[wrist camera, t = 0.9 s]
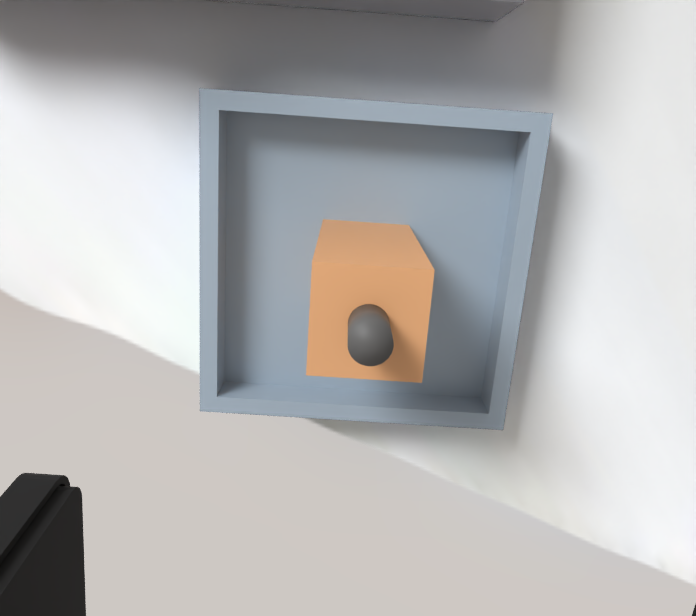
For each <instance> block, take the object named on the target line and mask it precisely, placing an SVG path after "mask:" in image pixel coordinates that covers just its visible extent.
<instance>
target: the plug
mask: <svg viewBox="0 0 696 616" xmlns="http://www.w3.org/2000/svg"><path fill="white" fill-rule="evenodd" d="M434 272H435V270H434V268H433V266H432V264H431V263H430V261H429V259H428V257H427V256H426V254H425V252H424V250H423V249H422V247H421V245H420V243H419V242H418V240H417V238H416V236H415V235H414V233H413V231H412V229H411V228H410V226H409V225H401V224H387V223H372V222H357V221H343V220H328V219H323V221H322V225H321V229H320V233H319V237H318V240H317V244H316V248H315V252H314V256H313V260H312V270H311V289H310V308H309V327H308V346H307V365H306V375H307V376H322V377H338V378H354V379H369V380H385V381H401V382H416V383H422V379H423V370H424V361H425V352H426V343H427V334H428V325H429V316H430V307H431V298H432V290H433V281H434Z"/></svg>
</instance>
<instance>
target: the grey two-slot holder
mask: <svg viewBox="0 0 696 616" xmlns="http://www.w3.org/2000/svg"><path fill="white" fill-rule="evenodd" d="M212 1H226V2H239V3H253V4H266V5H279V6H293V7H306V8H320V9H333V10H346V11H360V12H373V13H386V14H400V15H413V16H427V17H440V18H453V19H467V20H480V21H494V22H496V21H498V20H499V19H500V18H502V17H503V16H505V15H506V14H508V13H509V12H511V11H512V10H514V9H515V8H517V7H518V6H520V5H521V4H523V3H524V0H212Z"/></svg>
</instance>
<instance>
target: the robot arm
mask: <svg viewBox="0 0 696 616" xmlns="http://www.w3.org/2000/svg"><path fill="white" fill-rule="evenodd" d="M82 516H83V514H82V493H81V490H80V488H78V487H70V483H69V480H68V478H67V477H66V476H64V475H48V474H34V473H24V474H21V475H20V476H18V477H17V478H16V480H15V481H14V482H13V483H12V484H11V485H10V486H9V488H8V489H7V490H6V491H5V492H4V493H3V495H2V496H1V497H0V616H86V608H85V578H84V577H85V575H84V544H83V517H82ZM692 616H696V605H695V608H694V611H693V614H692Z"/></svg>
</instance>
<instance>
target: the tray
mask: <svg viewBox="0 0 696 616" xmlns="http://www.w3.org/2000/svg"><path fill="white" fill-rule="evenodd" d="M552 117H553V114H552V113H538V112H525V111H511V110H497V109H483V108H469V107H455V106H441V105H427V104H414V103H400V102H386V101H372V100H358V99H344V98H330V97H316V96H302V95H289V94H275V93H261V92H247V91H233V90H219V89H205V88H199V148H200V411H206V412H222V413H238V414H255V415H271V416H286V417H302V418H318V419H334V420H350V421H366V422H382V423H398V424H414V425H430V426H446V427H462V428H478V429H494V430H503V428H504V422H505V415H506V409H507V402H508V396H509V390H510V383H511V377H512V371H513V364H514V358H515V352H516V345H517V339H518V333H519V326H520V320H521V314H522V307H523V301H524V295H525V288H526V282H527V275H528V269H529V263H530V256H531V250H532V244H533V237H534V231H535V225H536V218H537V212H538V206H539V199H540V193H541V187H542V180H543V174H544V167H545V161H546V155H547V148H548V142H549V136H550V129H551V123H552ZM323 219H328V220H343V221H357V222H372V223H387V224H401V225H409V226H410V228H411V229H412V231H413V233H414V235H415V236H416V238H417V240H418V242H419V243H420V245H421V247H422V249H423V250H424V252H425V254H426V256H427V257H428V259H429V261H430V263H431V264H432V266H433V268H434V270H435V272H434V281H433V290H432V298H431V307H430V316H429V325H428V334H427V343H426V352H425V361H424V370H423V379H422V383H416V382H401V381H385V380H369V379H354V378H338V377H322V376H307V375H306V365H307V346H308V327H309V308H310V289H311V270H312V260H313V256H314V252H315V248H316V244H317V240H318V237H319V233H320V229H321V225H322V221H323Z"/></svg>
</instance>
